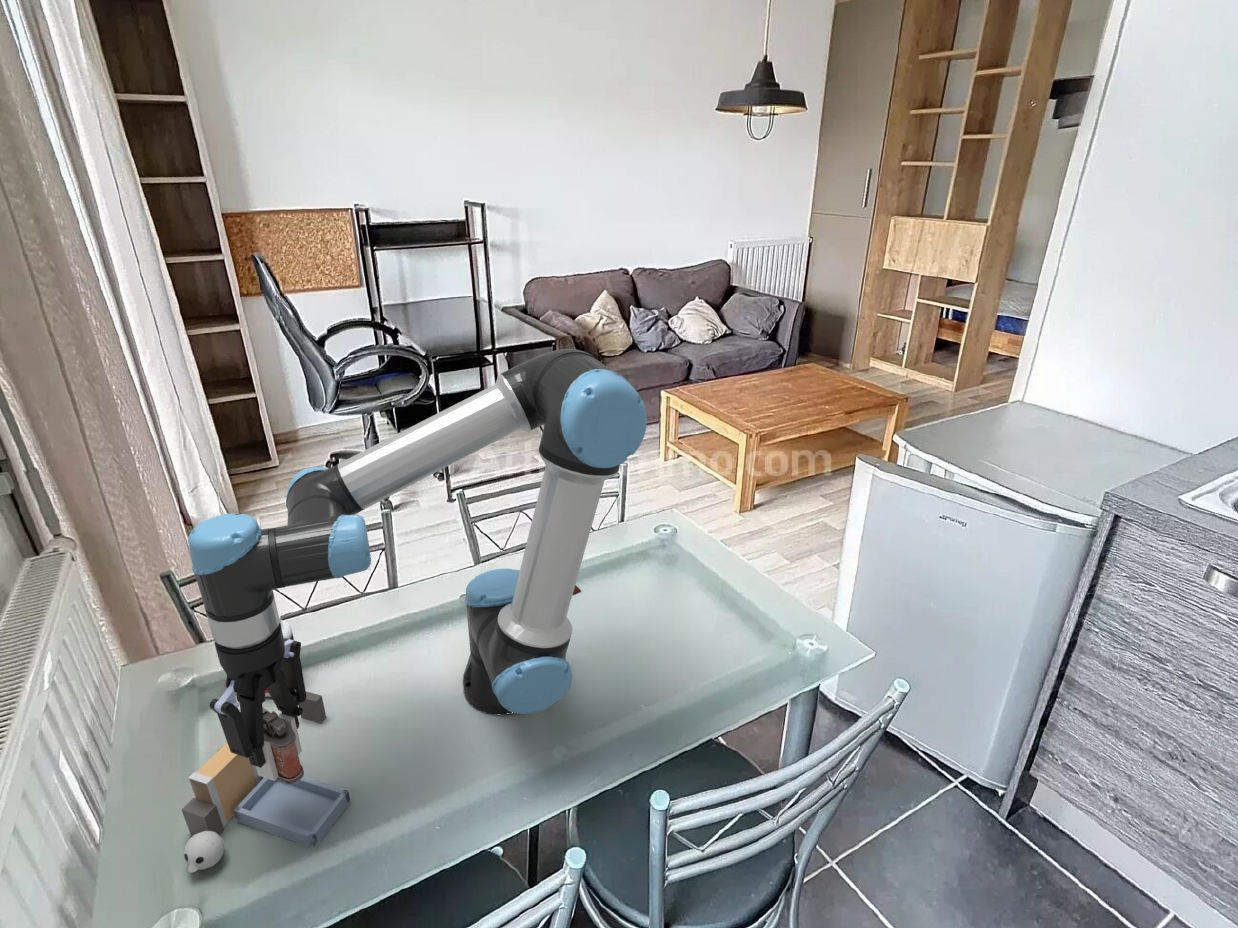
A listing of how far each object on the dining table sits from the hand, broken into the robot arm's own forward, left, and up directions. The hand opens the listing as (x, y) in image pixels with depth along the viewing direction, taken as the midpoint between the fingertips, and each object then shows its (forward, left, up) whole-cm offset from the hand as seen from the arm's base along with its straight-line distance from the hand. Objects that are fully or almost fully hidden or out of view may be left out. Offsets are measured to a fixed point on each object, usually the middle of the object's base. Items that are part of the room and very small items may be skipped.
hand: (280, 762), depth 96 cm
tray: (0, 0, -10) cm, 10 cm away
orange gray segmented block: (+9, -5, -10) cm, 15 cm away
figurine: (+6, +10, -10) cm, 16 cm away
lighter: (0, 0, -1) cm, 1 cm away
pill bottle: (+21, -21, -10) cm, 31 cm away
